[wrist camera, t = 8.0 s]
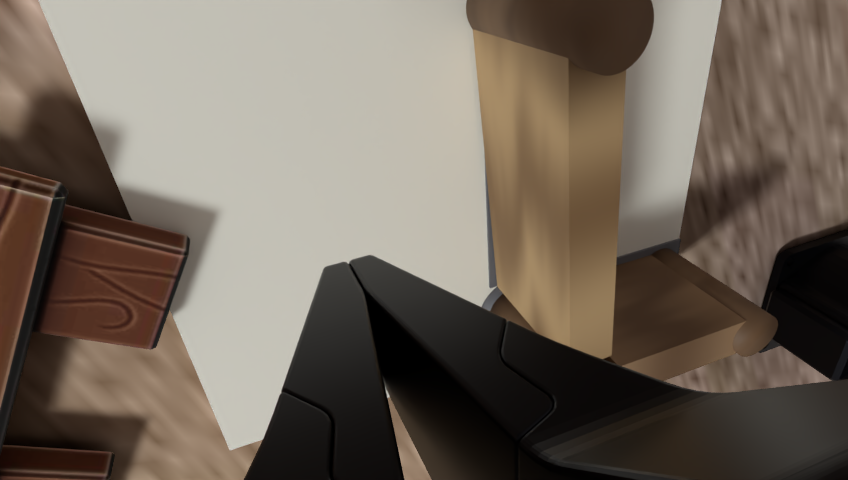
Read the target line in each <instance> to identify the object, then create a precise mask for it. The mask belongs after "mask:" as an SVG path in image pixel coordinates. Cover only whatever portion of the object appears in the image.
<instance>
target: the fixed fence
mask: <svg viewBox="0 0 848 480" xmlns="http://www.w3.org/2000/svg"><path fill="white" fill-rule="evenodd" d="M490 311H491V312H493V313H495V314H497V315H499V316H501V317H503V318H505V319H506V320H507V321H512V322H514V323H516V324H518V325H520V326H523V327H525V328H527V329H529V330H531V331H533V332H536V331H535V330H534V329H533V328H532V327H531V326H530V324H529V323H528V322H527V321H526V320H525V319H524V317H523V316H522V315H521V314H520V313H519V312H518V310H517V309H516V308H515V307H514V306H513V305H512V303H511V302H510V301H509V300H508V299H507V298H506V296H505V295H504V294H502V295H501V296H500V297H499V298H498V299H497V300H496V301H495V303H494V304H493V306H492V308H491V310H490ZM777 327H778V321H777V319H776V318H775V317H774V316H772V315H771V314H769V313H768V312H766V311H765V310H763V309H762V308H760V307H759V306H757V305H755V304H754V303H752V302H751V301H749V300H748V299H746V298H745V297H743V296H742V295H740V294H739V293H737V292H735V291H734V290H732V289H731V288H729V287H728V286H726V285H725V284H723V283H722V282H720V281H719V280H717V279H715V278H714V277H712V276H711V275H709V274H708V273H706V272H705V271H703V270H702V269H700V268H699V267H697V266H696V265H694V264H692V263H691V262H689V261H688V260H686V259H685V258H683V257H682V256H680V255H679V254H677V253H676V252H674V251H672V250H671V249H668V248H663V249H660V250H658V251H656V252H654V253H653V254H652V255H649V256H646V257H642V258H639V259H636V260H633V261H629V262H626V263H623V264H619V265H616V281H615V300H614V320H613V340H612V355H611V356H609V357H607V358H604V359H603V360H606V361H609V362H612V363H615V364H617V365H620V366H623V367H626V368H628V369H631V370H634V371H637V372H639V373H642V374H645V375H648V376H650V377H653V378H656V379H659V380H661V381H664V380H667V379H669V378H672V377H675V376H677V375H680V374H683V373H685V372H688V371H691V370H693V369H696V368H699V367H701V366H704V365H707V364H709V363H712V362H715V361H717V360H720V359H722V358H725V357H728V356H730V355H733V354H736V353H738V354H739V355H741V356H744V357H747V356H751V355H754V354H756V353H757V352H759V351H760V350H762V349H763V348H764V347H765V346H766V345H767V344H768V343H769V342H770V341H771V340H772V338H773V337H774V335H775V333H776V331H777Z"/></svg>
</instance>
